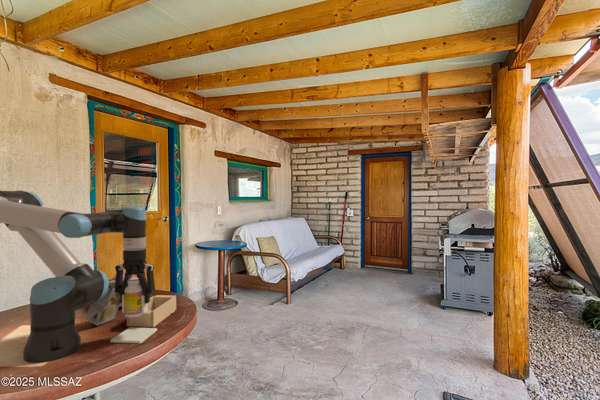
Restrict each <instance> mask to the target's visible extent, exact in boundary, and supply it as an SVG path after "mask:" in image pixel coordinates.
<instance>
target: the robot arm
mask: <svg viewBox="0 0 600 400" xmlns="http://www.w3.org/2000/svg"><path fill="white" fill-rule="evenodd" d="M146 213H147V212H146V208H145V207H143V206H125V207H123V208H122V211H121V212H119V211H118V212H114V211H111V212H110V211H100V212H99V211H98V212H93V213H92V212H91V213H90V212H89V213H82V212H76V211H75V212H74V211H69V210H65V209H58V208H52V207H47V206H44V203H43V201H42V199H41V198H40V196H38V195H37V193H34V192H32V191H27V190H0V224H4V225H5V226H6V228H7V229H8V230H10V231H11V232H18V234H19V235H20V236H21V237H22V238H23V240H24V241H25V242H26V243H27V244H28V245H29V246H30V248H31V249H32V250H33V251H34V252H35V254H36V255H37V256H38V258H39V259H40V260H41V261H42V263H44V264H45V266H46V267H47V269H49V270H50V272H51V273H52V274H53V275H54V277H49V278H48V277H47V278H46V279H45V278H44V279H42V280H40V281H38V282H36V283H35V284H34V285H32V286H31V289H30V295H29V306H30V307H29V308H30V309H29V312H30V313H29V314H30V315H29V316H30V322H29V323H30V333H29V335H28V337H27V340H26V343H25V347H24V348H23V351H22V352H23V354H22V358H23V360H24V361H25V362H29V363H40V362H41V363H42V362H48V361H52V360H56V359H60V358H63V357H66V356H69V355H70V354H73V353H75V352H76V351H78V350H79V349H80V348H81V346H82V337H81V335H80V334H79V331H78V328H77V325H76V311H78V310H80V309H83V308H86V307H88V306H91V304H93V303H96V302H97V301H98V300H100V299H102V298H103V297H104V296H105V295H106V293H107V291H108V286H109V280H110V279H109V278H108V276H107V275H106V273H105V272H104V271H102V270H97V269H94V270H93V268H92V266H90V265H89V264H88V263H87V262H86V263H83V262H81V261H79V259H78V258H77V256H76V255H74V253H73V252H72V251H71V250H70V249H69V248H68V247H67V245H66V244H65V243H64V241H63V240H61V238H60V237H59V236H58V235H57V233H58V234H61V235H63V236H64V237H65V238H68V239H79V238H83V237H89V236H96V235H102V234H109V233H110V234H111V233H114V234H115V233H118V234H122V249H124V250H122V251H123V252H122V260H123V263H122V264H118V265H115V268H114V269H115V275H116V281H115V293H119V294H120V302H121V303H122V307H121V313H122V314H125V288H126V287H128V280H129V279H131V277H132V275H135V276H136V278H138V279H139V282H140V285H141V288H142V290H143V293H144V294H143V295H141V297H142V313H145V312H147V311H148V303H149V302H150V298H151V296H150V295H151V293H154V292H155V291H156V286H155V274H154V269H155V265H154V264H147V262H146V259H147V249H146V248H147V234H146V232H147V214H146ZM145 271H146V272H145ZM123 272H125V275H124V276H125V277H124V280H123Z"/></svg>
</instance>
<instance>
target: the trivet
mask: <svg viewBox="0 0 600 400" xmlns="http://www.w3.org/2000/svg"><path fill="white" fill-rule="evenodd" d="M156 331H158V327H156V328H155V327H133V326H128V328H126V329H124V331H122V332H121V333H119V334H117V335H116V336H115V337H113V338H111V339H110V343H116V344H117V343H119V344H120V343H121V344H142V343H143V342H144V341H146V340H147V339H148V338H150V337H151V336H152V335H153V334H154V333H156Z"/></svg>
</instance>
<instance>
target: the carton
mask: <svg viewBox="0 0 600 400" xmlns="http://www.w3.org/2000/svg"><path fill="white" fill-rule="evenodd" d="M175 310H176V311H177V295H166V294H165V295H164V294H157V295H154V296H150V302H149V303H148V311H147V312H145V313H144V314H142V315H140V316H137V317H126V327H136V328H155V327H156V326H157V325H159V324H160V323H161V322H162V321H164V320H165V319H167V318H168V317H169V316H171V313H172V314H173V313H174V312H176V311H175Z"/></svg>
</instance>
